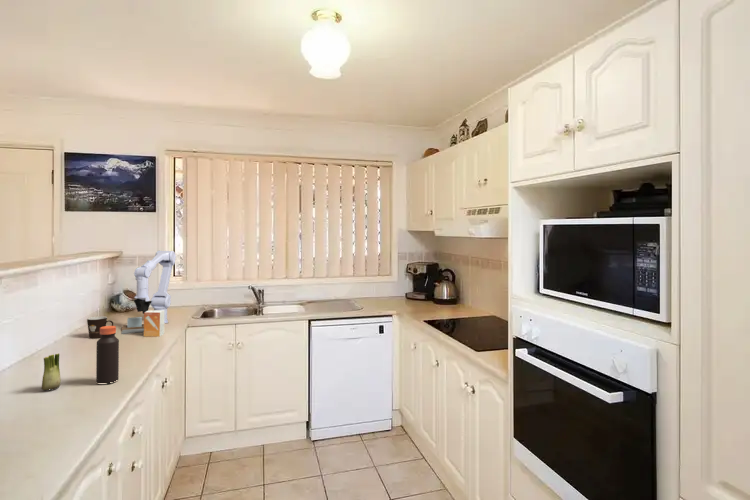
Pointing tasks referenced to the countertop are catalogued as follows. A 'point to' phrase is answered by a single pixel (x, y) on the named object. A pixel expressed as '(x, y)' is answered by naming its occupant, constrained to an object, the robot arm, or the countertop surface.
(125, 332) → the rubber mat
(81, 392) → the countertop surface
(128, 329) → the walnut frame
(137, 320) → the painted block
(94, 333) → the coffee mug
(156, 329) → the small box
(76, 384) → the countertop surface
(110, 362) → the bottle
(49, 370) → the fennel bulb
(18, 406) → the countertop surface
